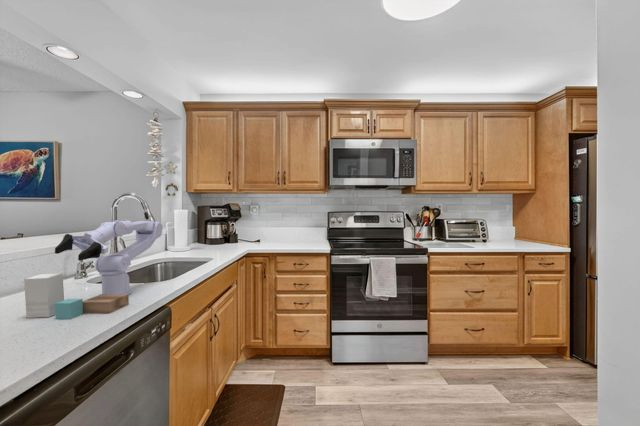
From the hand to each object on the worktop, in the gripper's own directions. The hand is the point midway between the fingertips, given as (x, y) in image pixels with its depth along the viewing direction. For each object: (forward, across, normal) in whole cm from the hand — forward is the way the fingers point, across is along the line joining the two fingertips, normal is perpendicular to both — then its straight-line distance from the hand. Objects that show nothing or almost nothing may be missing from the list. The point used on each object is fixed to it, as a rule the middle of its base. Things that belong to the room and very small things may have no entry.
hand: (67, 254), depth 112 cm
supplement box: (+5, -2, +21) cm, 21 cm away
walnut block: (0, +14, +17) cm, 22 cm away
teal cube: (+8, +8, +17) cm, 20 cm away
